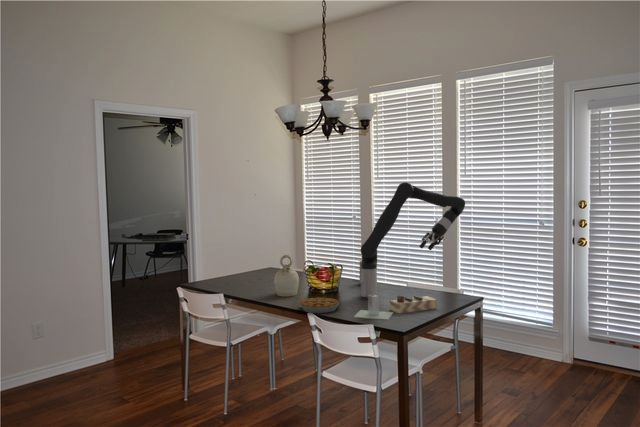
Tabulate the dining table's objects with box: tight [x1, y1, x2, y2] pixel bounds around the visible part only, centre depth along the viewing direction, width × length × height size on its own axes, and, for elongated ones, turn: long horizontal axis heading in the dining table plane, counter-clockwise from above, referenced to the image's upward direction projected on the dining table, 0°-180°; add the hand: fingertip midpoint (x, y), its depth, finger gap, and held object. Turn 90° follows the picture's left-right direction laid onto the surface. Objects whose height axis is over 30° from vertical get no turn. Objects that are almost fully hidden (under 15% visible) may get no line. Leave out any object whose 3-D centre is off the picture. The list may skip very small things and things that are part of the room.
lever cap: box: [367, 294, 380, 316], centre depth 265 cm, size 4×4×10 cm
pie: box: [299, 296, 340, 314], centre depth 281 cm, size 22×22×5 cm
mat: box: [353, 309, 394, 321], centre depth 265 cm, size 18×14×1 cm
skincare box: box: [359, 260, 362, 285], centre depth 344 cm, size 8×7×16 cm
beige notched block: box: [389, 294, 438, 314], centre depth 276 cm, size 24×9×8 cm, turn 112°
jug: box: [273, 254, 300, 298], centre depth 316 cm, size 15×16×25 cm
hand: (424, 248), depth 284 cm, fingers open, 8 cm apart
